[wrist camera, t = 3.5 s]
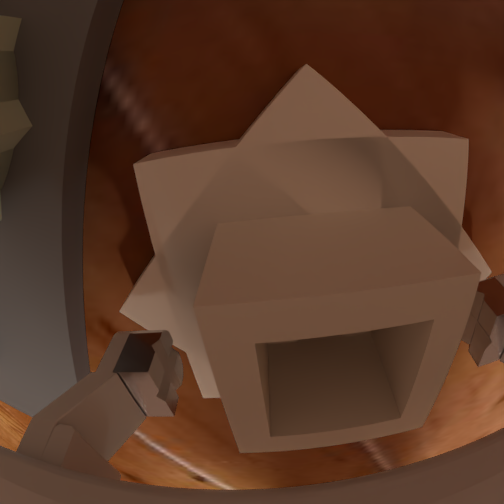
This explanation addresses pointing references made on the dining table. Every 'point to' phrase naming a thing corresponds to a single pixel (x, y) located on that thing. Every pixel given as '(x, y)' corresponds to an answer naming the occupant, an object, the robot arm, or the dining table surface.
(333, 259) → the gear
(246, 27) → the dining table surface
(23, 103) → the board
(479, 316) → the robot arm
